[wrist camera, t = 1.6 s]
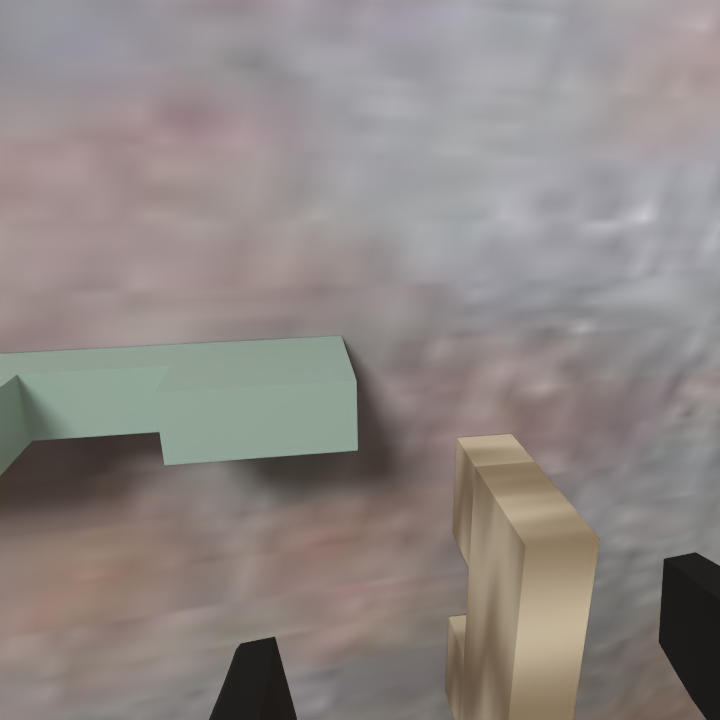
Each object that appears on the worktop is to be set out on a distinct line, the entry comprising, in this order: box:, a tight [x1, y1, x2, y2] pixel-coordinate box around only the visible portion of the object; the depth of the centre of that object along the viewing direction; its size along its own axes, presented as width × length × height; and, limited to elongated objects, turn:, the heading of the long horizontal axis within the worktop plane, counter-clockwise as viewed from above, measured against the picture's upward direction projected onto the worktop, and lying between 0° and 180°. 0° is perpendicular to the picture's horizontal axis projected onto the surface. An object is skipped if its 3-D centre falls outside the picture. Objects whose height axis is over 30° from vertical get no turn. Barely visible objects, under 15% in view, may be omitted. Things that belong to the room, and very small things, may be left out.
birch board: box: [446, 434, 600, 720], centre depth 19 cm, size 12×2×6 cm, turn 1°
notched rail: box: [0, 336, 358, 476], centre depth 16 cm, size 2×14×4 cm, turn 91°
